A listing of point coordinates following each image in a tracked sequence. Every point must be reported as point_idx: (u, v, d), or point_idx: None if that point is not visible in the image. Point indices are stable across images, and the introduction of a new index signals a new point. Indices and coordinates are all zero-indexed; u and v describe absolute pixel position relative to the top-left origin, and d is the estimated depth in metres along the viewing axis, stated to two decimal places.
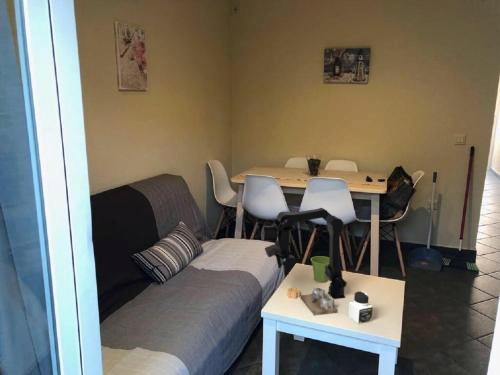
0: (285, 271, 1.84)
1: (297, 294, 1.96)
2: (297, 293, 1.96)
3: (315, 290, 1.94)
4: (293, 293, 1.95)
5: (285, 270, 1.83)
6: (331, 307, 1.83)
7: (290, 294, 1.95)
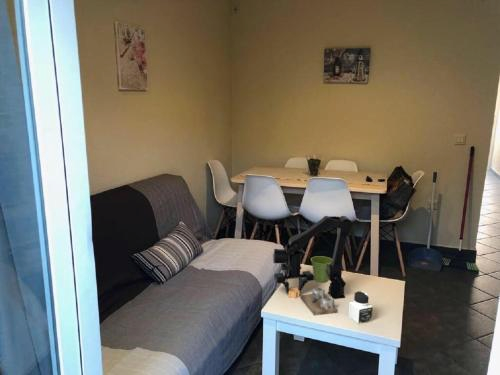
0: None
1: (297, 294, 1.96)
2: (297, 293, 1.96)
3: (315, 290, 1.94)
4: (293, 293, 1.95)
5: (285, 288, 1.97)
6: (331, 307, 1.83)
7: (290, 294, 1.95)
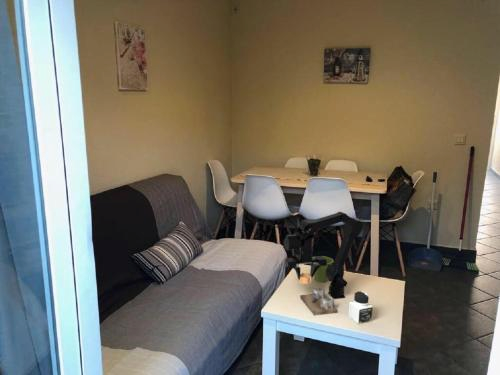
0: (297, 274, 1.90)
1: (309, 280, 1.89)
2: (309, 279, 1.89)
3: (315, 290, 1.94)
4: (305, 279, 1.88)
5: (296, 273, 1.90)
6: (331, 307, 1.83)
7: (302, 280, 1.89)
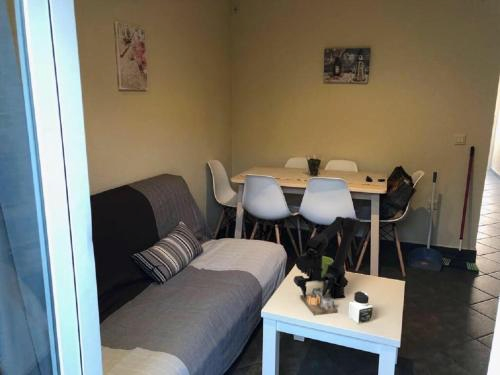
0: (302, 292, 1.87)
1: (318, 300, 1.87)
2: (318, 299, 1.86)
3: (315, 290, 1.94)
4: (314, 299, 1.85)
5: (302, 291, 1.87)
6: (331, 307, 1.83)
7: (310, 300, 1.86)
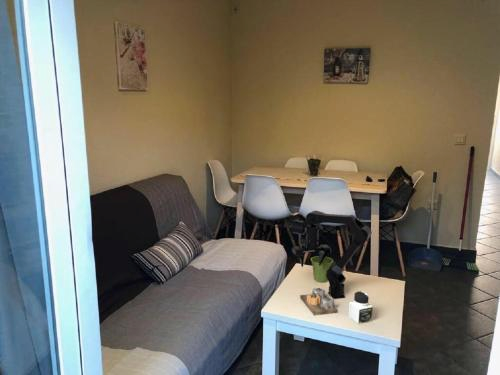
0: (300, 262, 2.02)
1: (318, 300, 1.87)
2: (318, 299, 1.86)
3: (315, 290, 1.94)
4: (314, 299, 1.85)
5: (300, 261, 2.02)
6: (331, 307, 1.83)
7: (310, 300, 1.86)
